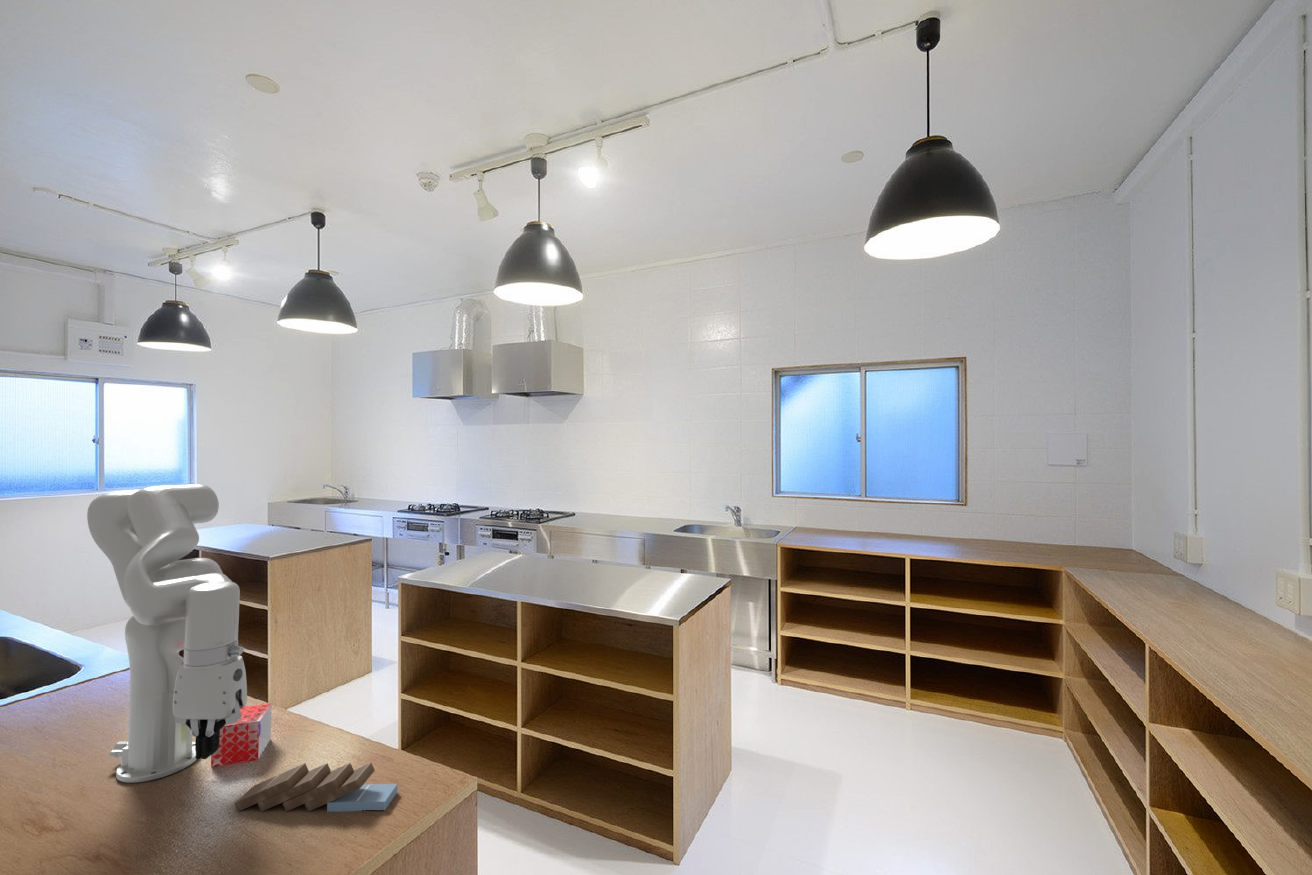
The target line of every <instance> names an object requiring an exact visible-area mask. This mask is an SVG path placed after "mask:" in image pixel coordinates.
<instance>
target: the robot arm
mask: <svg viewBox="0 0 1312 875" xmlns="http://www.w3.org/2000/svg"><path fill="white" fill-rule="evenodd" d="M219 506H220V505H219V499H218V496H217V493H216V492H215V491H214V490H213V489H212V488H211V487H209V486H208V485H206V484H200V483H199V484H197V483H196V484H194V483H193V484H176V485H175V484H173V485H156V486H148V487H144V488H141V489H133V490H129V489H128V490H120V491H113V492H108V493H105V494H102V495H100V496H99V495H98V496H97V497H95V498H94V499H93V500H92V501H91V502H90V504H89V506H88V508H87V514H86V516H87V518H86V521H87V526H88V529H89V533H90V535H91V538H92V539H93V541H94V543H95V544H96V545H97V547H98V548H99V549H100V551H102V553H103V554H104V555H105V556H106V557H107V559H108V560H109V561H110V562H111V566H112V567H113V568H112V569H113V571H114V572H113V573H114V574H115V577H116V580H117V583H118V587H119V590H120V592H121V595H122V598H123V602H124V603H125V604H126V606H127V607H128V608H129V610H130V612H131V614H132V616H131V617H130V618H129V619H128V621H127V622H126V624H125V628H124V640H125V645H126V649H127V655H128V662H129V701H128V702H129V704H128V705H129V707H128V709H129V710H128V733H127V734H128V738H127V740H119V741H118V742H116V743H115V745H114V748H113V749H112V750H111V751H110V753H109V755H108V756H109V758H112V759H113V758H114V759H115V758H116V759H117V758H121V763H120V765H119V766H118V767H117V768H116V772H115V778H116V779H117V780H118V781H120V782H121V783H127V784H128V783H129V784H131V783H133V784H134V783H135V784H136V783H143V782H149V781H154V780H158V779H160V778H164V777H167V776H170V775H172V774H175V773H177V772H179V771H182V770H184V769H186V768H187V767H189V766H191V765H192V764H193V763H195V762H196V761H197V760H200V759H201V760H207V759H208V758H210V757H211V755H212V754H213V753H215V752H216V751H217V750H218V747H219V740H220V729H222V728H223V727H224V726H225V725H229V724H234V723H236V722H238V721H239V720H240V719H241V718H242V716H241V711H240V709H241V708H243V707H246V706H247V702H248V701H247V700H248V685H247V674H246V673H247V672H246V667H245V662H244V659H243V656H242V654H243V653H244V651H245V650H244V649H245V648H244V646H239V621H240V601H241V600H240V595H241V592H240V591H241V590H240V586H239V585H238V584H237V583H236V582H234V581H232V579H230V578H229V577H228V576H227V575H226V574H224V573H223V570H222V569H221V566H220V565H219V564H218V562H217V561H215V560H213V559H211V558H209V557H195V558H187V559H182V558H184V557H185V556H187V555H189V554H190V553H191V552H193V550H194V549H196V548H197V546H198V544H199V542H200V536H199V535H200V534H199V532H198V530H197V529H196V527H195V524H203V523H209V522H211V521H212V520H213V519H215V517H216V516H217V514H218V513H219V508H220V507H219ZM180 651H183V656H181V655H180ZM193 737H195V741H193Z"/></svg>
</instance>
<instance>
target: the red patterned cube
mask: <svg viewBox="0 0 1312 875" xmlns="http://www.w3.org/2000/svg"><path fill="white" fill-rule="evenodd" d="M272 705H273V703H271V702H270V703H264V704H256V705H248V706H247V705H246V706H245V707H243V708H241V709H240V711H241V716H242V718H241V719H240V720H239V721H238V722H236V723H234V724H229V725H225V726H224V727H223V728H222V729H220V740H219V747H218V750H217V751H216V752H215V753H213V754H212V755H211V756H210V758H211V759H210V768H212V767H219V766H220V765H221V766H225V765H232V764H239V763H245V762H251V761H258V760H259V759H260V757H261V756H260V754H261V753H262V751H263V752H264V751H265V749H266V748H265V746H266V744H267V743H268V741H269V739H271V740H272V713H273V712H272V711H273V709H272ZM269 742H270V741H269ZM268 744H269V743H268ZM266 747H267V746H266ZM264 748H265V749H264ZM262 754H263V753H262ZM262 754H261V755H262Z"/></svg>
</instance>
